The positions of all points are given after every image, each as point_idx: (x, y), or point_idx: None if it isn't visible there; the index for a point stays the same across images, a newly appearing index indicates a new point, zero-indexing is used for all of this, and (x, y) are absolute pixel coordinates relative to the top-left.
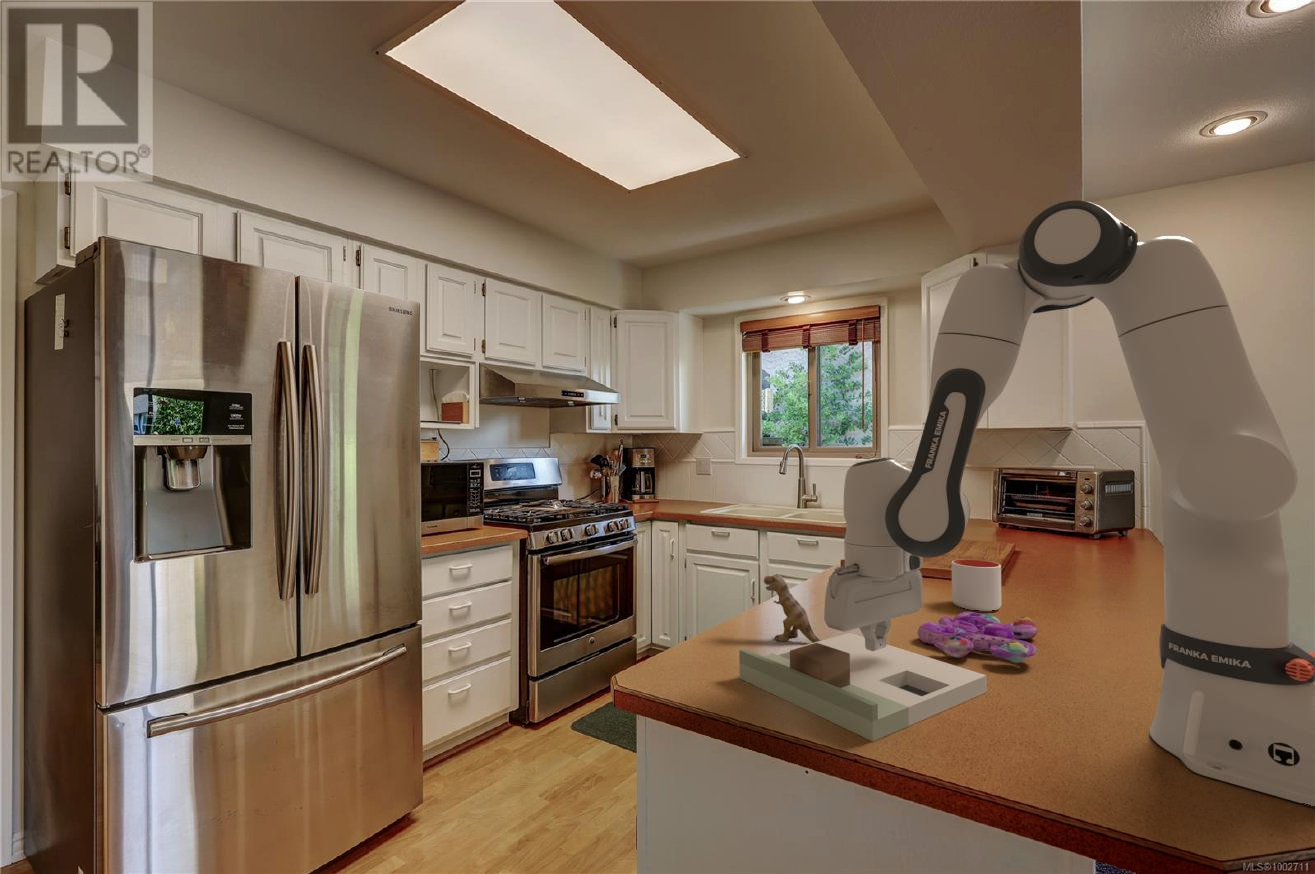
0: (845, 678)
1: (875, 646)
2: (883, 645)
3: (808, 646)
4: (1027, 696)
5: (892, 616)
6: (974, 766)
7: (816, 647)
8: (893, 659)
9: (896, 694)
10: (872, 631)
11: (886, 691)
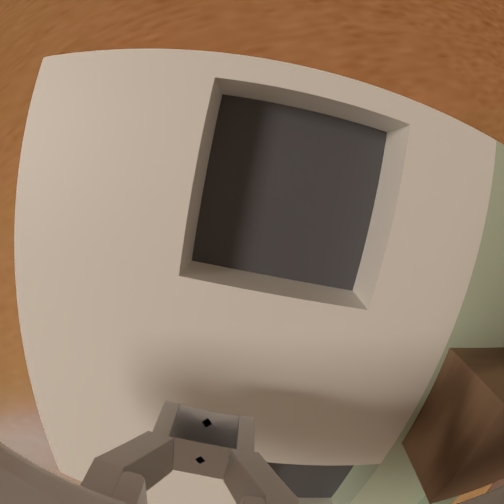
0: (476, 359)
1: (248, 428)
2: (184, 411)
3: (471, 487)
4: (48, 14)
5: (85, 500)
6: (494, 15)
7: (473, 477)
8: (114, 353)
9: (447, 203)
10: (279, 493)
11: (445, 240)
